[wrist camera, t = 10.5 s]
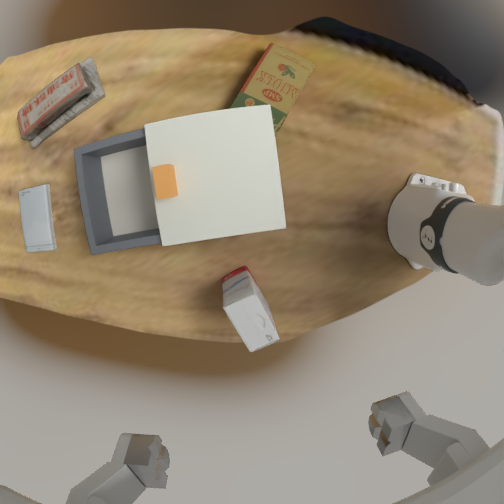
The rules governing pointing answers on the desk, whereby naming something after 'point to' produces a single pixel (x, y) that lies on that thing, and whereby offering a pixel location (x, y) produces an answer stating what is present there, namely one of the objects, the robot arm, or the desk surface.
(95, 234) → the charcoal box
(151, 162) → the lid flap
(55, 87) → the packaged product
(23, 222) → the hard drive
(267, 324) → the ink box
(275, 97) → the carton
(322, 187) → the desk surface
